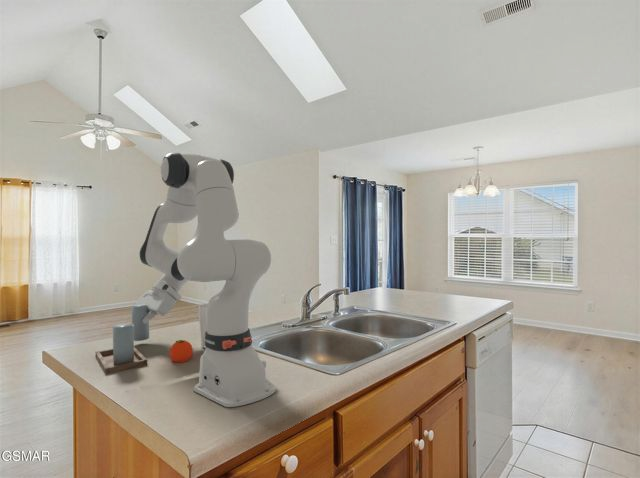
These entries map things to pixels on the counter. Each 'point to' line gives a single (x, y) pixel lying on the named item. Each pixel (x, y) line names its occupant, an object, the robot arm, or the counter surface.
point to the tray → (107, 364)
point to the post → (138, 327)
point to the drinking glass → (203, 323)
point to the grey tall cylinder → (123, 344)
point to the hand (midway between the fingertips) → (138, 321)
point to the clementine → (181, 351)
